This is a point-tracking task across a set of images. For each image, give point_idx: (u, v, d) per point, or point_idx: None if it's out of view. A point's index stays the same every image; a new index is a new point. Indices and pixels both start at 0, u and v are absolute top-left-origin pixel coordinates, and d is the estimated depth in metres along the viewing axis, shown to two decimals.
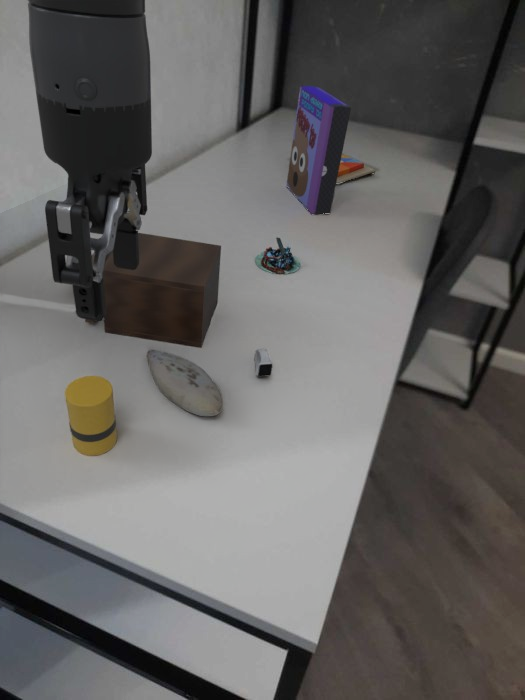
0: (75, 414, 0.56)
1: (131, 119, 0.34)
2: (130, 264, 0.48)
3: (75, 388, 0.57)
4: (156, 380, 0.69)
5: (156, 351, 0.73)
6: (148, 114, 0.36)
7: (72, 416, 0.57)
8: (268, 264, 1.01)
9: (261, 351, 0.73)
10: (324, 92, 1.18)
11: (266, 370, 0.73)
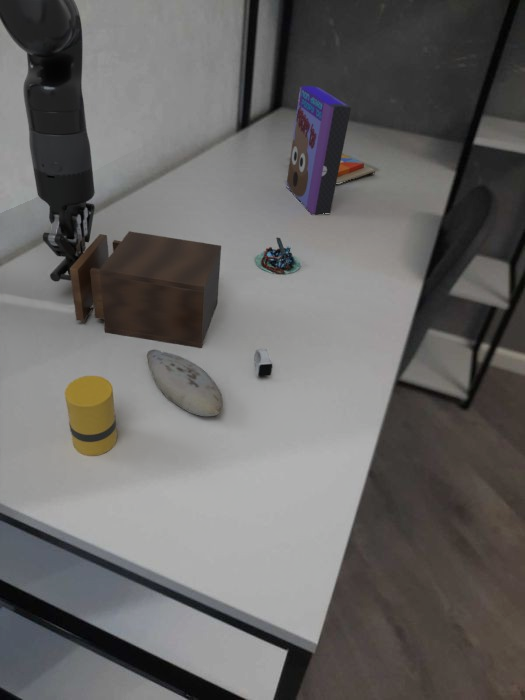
0: (75, 414, 0.56)
1: (80, 179, 0.69)
2: None
3: (75, 388, 0.57)
4: (156, 380, 0.69)
5: (156, 351, 0.73)
6: (90, 175, 0.70)
7: (72, 416, 0.57)
8: (268, 264, 1.01)
9: (261, 351, 0.73)
10: (324, 92, 1.18)
11: (266, 370, 0.73)
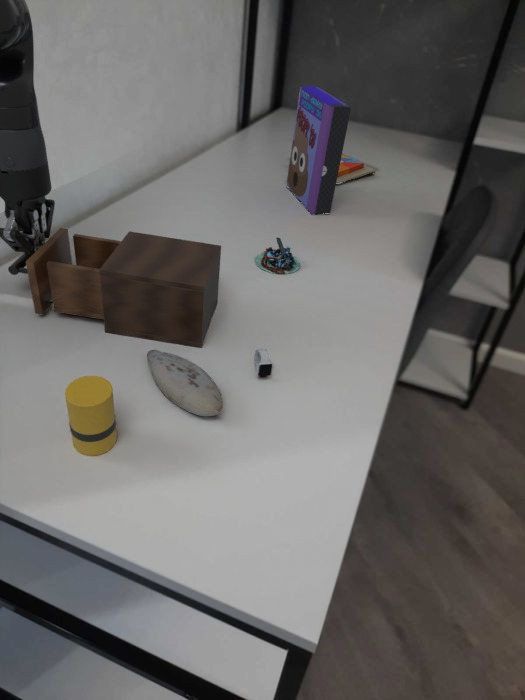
0: (75, 414, 0.56)
1: (34, 174, 0.69)
2: None
3: (75, 388, 0.57)
4: (156, 380, 0.69)
5: (156, 351, 0.73)
6: (45, 171, 0.71)
7: (72, 416, 0.57)
8: (268, 264, 1.01)
9: (261, 351, 0.73)
10: (324, 92, 1.18)
11: (266, 370, 0.73)
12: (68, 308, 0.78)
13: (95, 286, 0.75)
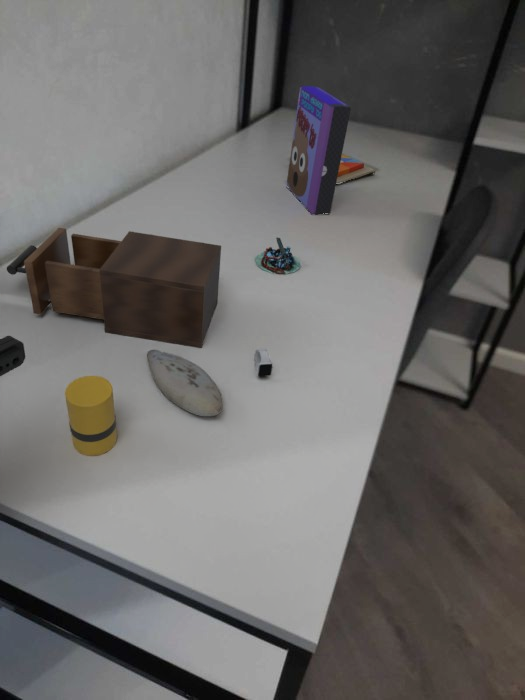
0: (75, 414, 0.56)
1: None
2: None
3: (75, 388, 0.57)
4: (156, 380, 0.69)
5: (156, 351, 0.73)
6: None
7: (72, 416, 0.57)
8: (268, 264, 1.01)
9: (261, 351, 0.73)
10: (324, 92, 1.18)
11: (266, 370, 0.73)
12: (66, 308, 0.78)
13: (93, 286, 0.75)
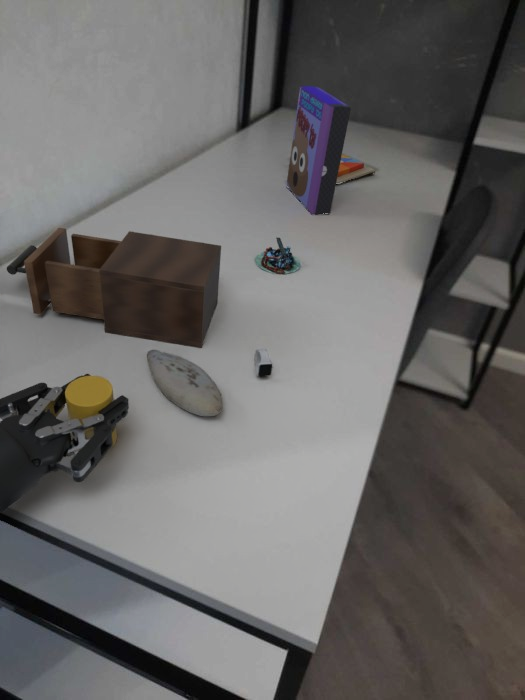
0: (75, 414, 0.56)
1: None
2: None
3: (75, 388, 0.57)
4: (156, 380, 0.69)
5: (156, 351, 0.73)
6: None
7: (72, 415, 0.57)
8: (268, 264, 1.01)
9: (261, 351, 0.73)
10: (324, 92, 1.18)
11: (266, 370, 0.73)
12: (66, 308, 0.78)
13: (93, 286, 0.75)
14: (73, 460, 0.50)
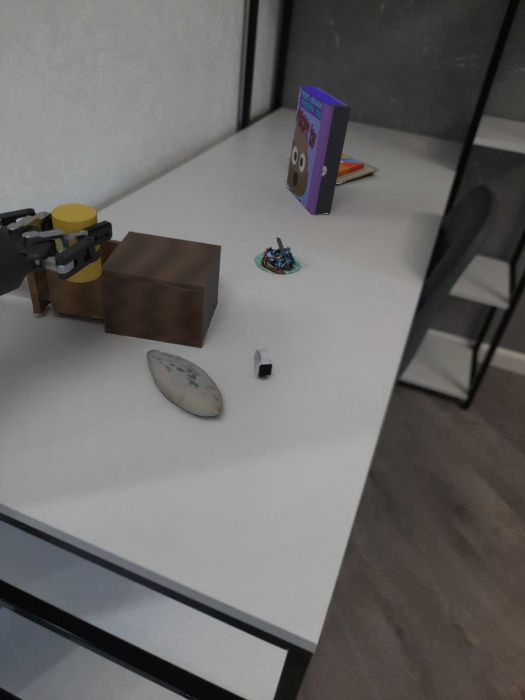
0: None
1: None
2: None
3: (61, 210, 0.60)
4: (156, 380, 0.69)
5: (156, 351, 0.73)
6: None
7: None
8: (268, 264, 1.01)
9: (261, 351, 0.73)
10: (324, 92, 1.18)
11: (266, 370, 0.73)
12: (66, 308, 0.78)
13: (93, 286, 0.75)
14: (57, 255, 0.53)
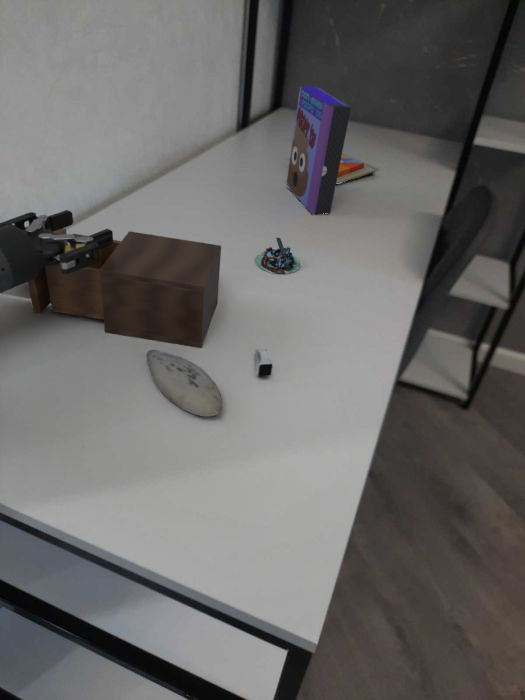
0: None
1: None
2: None
3: None
4: (156, 380, 0.69)
5: (156, 351, 0.73)
6: None
7: None
8: (268, 264, 1.01)
9: (261, 351, 0.73)
10: (324, 92, 1.18)
11: (266, 370, 0.73)
12: (66, 308, 0.78)
13: (93, 286, 0.75)
14: (61, 254, 0.67)
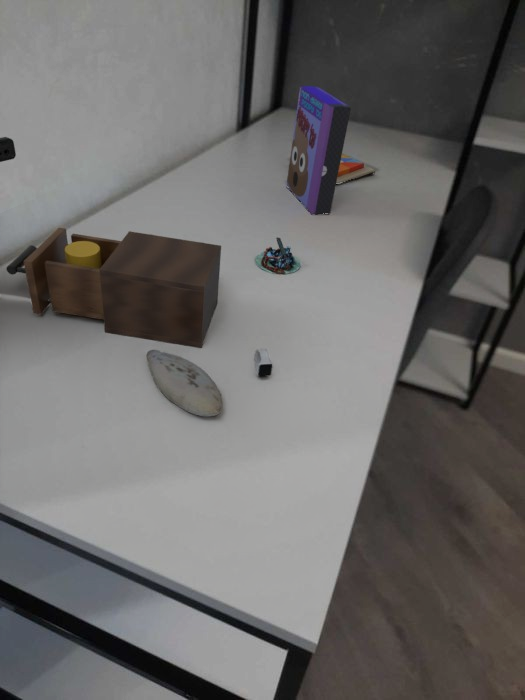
0: (72, 264, 0.77)
1: None
2: None
3: (72, 247, 0.77)
4: (156, 380, 0.69)
5: (156, 351, 0.73)
6: None
7: None
8: (268, 264, 1.01)
9: (261, 351, 0.73)
10: (324, 92, 1.18)
11: (266, 370, 0.73)
12: (66, 308, 0.78)
13: (93, 286, 0.75)
14: None
